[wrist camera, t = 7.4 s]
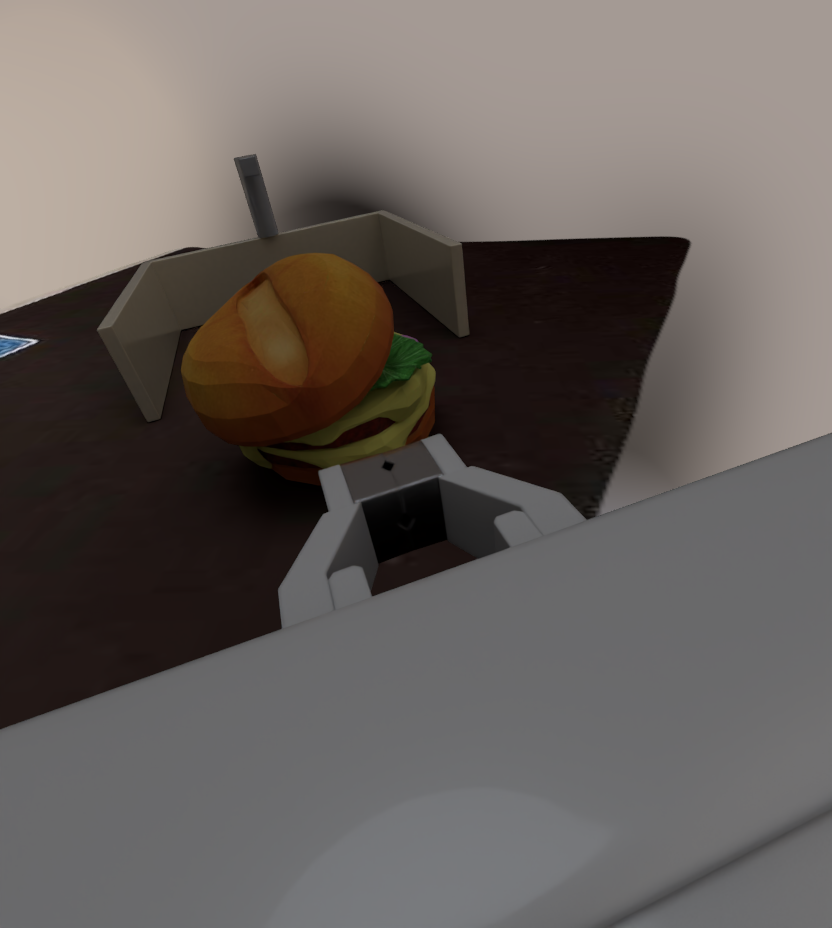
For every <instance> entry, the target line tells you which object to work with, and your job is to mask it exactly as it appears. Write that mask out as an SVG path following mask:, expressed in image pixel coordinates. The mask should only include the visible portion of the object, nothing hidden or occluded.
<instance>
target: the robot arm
mask: <svg viewBox="0 0 832 928" xmlns="http://www.w3.org/2000/svg"><path fill="white" fill-rule="evenodd" d="M340 466H341V467H340ZM318 474H319V478H320V482H321V485H322V489H323V493H324V496H325V500H326V503H327V507H328V511H329V512H327V513H324V514H323V515H322V516H321V518H320V520H319V521H318V523H317V525H316V527H315V528H314V530H313V532H312V533H311V535H310V537H309V538H308V540H307V542H306V543H305V545H304V547H303V548H302V550H301V552H300V553H299V555H298V557H297V558H296V560H295V562H294V563H293V565H292V567H291V569H290V570H289V572H288V574H287V575H286V577H285V579H284V580H283V582H282V584H281V585H280V587H279V589H278V594H279V604H280V613H281V623H282V629H281V630H278V631H275V632H272V633H269V634H267V635H264V636H261V637H258V638H255V639H252V640H250V641H247V642H244V643H241V644H238V645H236V646H233V647H230V648H227V649H224V650H222V651H219V652H216V653H213V654H210V655H208V656H205V657H202V658H199V659H196V660H194V661H191V662H188V663H185V664H182V665H180V666H177V667H174V668H171V669H168V670H166V671H163V672H160V673H157V674H154V675H152V676H149V677H146V678H143V679H140V680H138V681H135V682H132V683H129V684H126V685H124V686H121V687H118V688H115V689H112V690H110V691H107V692H104V693H101V694H98V695H96V696H93V697H90V698H87V699H84V700H82V701H79V702H76V703H73V704H70V705H68V706H65V707H62V708H59V709H56V710H54V711H51V712H48V713H45V714H42V715H40V716H37V717H34V718H31V719H28V720H26V721H23V722H20V723H17V724H14V725H12V726H9V727H6V728H3V729H0V928H832V433H830V434H827V435H824V436H821V437H818V438H816V439H813V440H810V441H807V442H804V443H802V444H799V445H796V446H793V447H790V448H788V449H785V450H782V451H779V452H776V453H774V454H771V455H768V456H765V457H763V458H760V459H757V460H754V461H751V462H749V463H746V464H743V465H740V466H737V467H735V468H732V469H729V470H726V471H723V472H720V473H718V474H715V475H712V476H709V477H706V478H704V479H701V480H698V481H695V482H692V483H690V484H687V485H684V486H681V487H678V488H676V489H673V490H670V491H667V492H664V493H662V494H659V495H656V496H653V497H650V498H647V499H645V500H642V501H639V502H636V503H634V504H631V505H628V506H625V507H622V508H619V509H617V510H614V511H611V512H608V513H605V514H603V515H600V516H597V517H594V518H592V519H589V520H586V519H585V518H584V517H583V516H582V515H581V514H580V513H579V512H578V511H577V510H576V508H575V507H574V506H573V505H572V504H571V503H570V502H569V501H568V500H567V499H566V498H565V497H564V496H563V495H562V494H561V493H558V492H555V491H552V490H549V489H546V488H542V487H539V486H536V485H533V484H529V483H526V482H523V481H520V480H516V479H513V478H510V477H507V476H503V475H500V474H497V473H494V472H490V471H487V470H484V469H481V468H477V467H474V466H471V467H468V468H467V467H466V466H465V464H464V463H463V462H462V460H461V459H460V458H459V456H458V455H457V454H456V452H455V451H454V450H453V448H452V447H451V446H450V444H449V443H448V442H447V440H446V439H445V438H444V436H443V435H442V434H437V435H434V436H431V437H428V438H425V439H422V440H420V441H417V442H414V443H411V444H408V445H405V446H402V447H399V448H396V449H393V450H389V451H386V452H383V453H378V454H374V455H371V456H367V457H364V458H360V459H357V460H353V461H350V462H346V463H343V464H340V465H335V466H332V467H329V468H326V469H323V470H319V471H318ZM445 540H448V541H449V542H450V543H452V544H454V545H455V546H457V547H459V548H461V549H462V550H464V551H466V552H468V553H469V554H471V555H473V556H475V557H476V558H478V559H477V560H474V561H471V562H468V563H466V564H463V565H460V566H457V567H454V568H452V569H449V570H446V571H443V572H440V573H437V574H435V575H432V576H429V577H426V578H423V579H421V580H418V581H415V582H412V583H409V584H407V585H404V586H401V587H398V588H395V589H393V590H390V591H387V592H384V593H381V594H379V595H376V596H373V597H372V595H371V589H372V586H373V582H374V579H375V576H376V573H377V569H378V566H379V565H378V563H381V562H384V561H386V560H389V559H392V558H394V557H397V556H400V555H402V554H405V553H408V552H410V551H413V550H416V549H419V548H423V547H426V546H429V545H432V544H435V543H438V542H442V541H445Z"/></svg>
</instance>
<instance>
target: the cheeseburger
mask: <svg viewBox="0 0 832 928" xmlns="http://www.w3.org/2000/svg"><path fill="white" fill-rule="evenodd" d="M430 357H432V354H431V353H429V352H428V351H427V350H425V349H424V348H423V344H422V343H419V342H418V341H417V339H415V338H412V337H409V336H407V335H401V334H398V333H395V332H394V326H393V310H392V308H391V305H390V303H389V301H388V299H387V297H386V295H385V293H384V291H383V289H382V287H381V286H380V285H379V284H378V283H377V282H376V281H375V280H374V279H373V278H372V277H371V276H370V275H369V273H367V272H365V271H364V270H362V269H361V268H359V267H358V266H356V265H355V264H353V263H351V262H349V261H347V260H345V259H343V258H341V257H339V256H336V255H334V254H326V253H306V254H298V255H293V256H289V257H286V258H284V259H281V260H279V261H277V262H275V263H274V264H272V265H271V266H269V267H268V268H266V269H264V270H263V271H261V272H260V273H259V274H258V275H257V276H256V277H255V278H254V279H253V280H252V281H251V282H249V283H248V284H246V285H245V286H243V287H242V288H241V289H240V290H239V291H238V292H237V293H236V294H235V295H234V296H233V297H232V298H230V299H229V300H228V301H227V302H226V303H225V304H224V305H223V306H222V307H221V308H220V309H219V310H218V311H217V312H216V313H215V314H214V315H213V316H212V317H211V318H210V319H209V320H208V321H207V322H206V323H205V324H204V325H203V326H202V327H201V328H200V329H199V330H198V332H197V333H196V334H195V336H194V337H193V338H192V340H191V341H190V343H189V345H188V347H187V350H186V352H185V354H184V356H183V361H182V367H181V373H182V378H183V382H184V387H185V392H186V396H187V398H188V400H189V401H190V403H191V405H192V406H193V408H194V410H195V411H196V413H197V415H198V416H199V418H200V419H201V421H202V423H203V424H204V426H205V427H206V429H208V430H209V431H210V432H212V433H213V434H215V435H216V436H218V437H219V438H221V439H222V440H224V441H226V442H227V443H230V444H234V445H239V447H240V449H241V450H242V452H243V454H244V456H246V457H247V458H248V459H250V460H251V461H253V462H255V463H256V464H258V465H259V466H262V467H265V468H271V469H272V470H274V471H275V472H277V473H278V474H279V475H281V476H282V477H284V478H285V479H286V480H291V481H297V482H302V483H308V484H313V485H318V486H319V485H321V482H320V478H319V474H318V471H319V470H323V469H326V468H329V467H332V466H335V465H340V464H343V463H346V462H350V461H353V460H357V459H360V458H364V457H367V456H371V455H374V454H378V453H383V452H386V451H389V450H393V449H396V448H399V447H402V446H405V445H408V444H411V443H414V442H417V441H420V440H422V439H425V438H427V437H428V435H429V433H430V431H431V429H432V427H433V425H434V423H435V401H434V383H435V373H436V372H435V369H434V368H433V367H432V366H431V365H430V364H429V363H430V362H432V360H431V358H430ZM340 467H341V466H340Z"/></svg>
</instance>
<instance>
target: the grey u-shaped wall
mask: <svg viewBox="0 0 832 928" xmlns="http://www.w3.org/2000/svg"><path fill="white" fill-rule="evenodd" d="M234 161H235V164H236V167H237V171H238V173H239V177H240V180H241V183H242V186H243V190H244V193H245V196H246V199H247V203H248V206H249V209H250V212H251V215H252V218H253V222H254V225H255V228H256V231H257V235H258V237H257V238H253V239H248V240H244V241H239V242H234V243H230V244H225V245H220V246H216V247H211V248H206V249H202V250H197V251H193V252H188V253H183V254H179V255H174V256H170V257H165V258H160V259H156V260H151V261H146V262H143V263H142V264H141V266H140V267H139V269H138V270H137V272H136V273H135V275H134V276H133V277H132V279H131V280H130V282H129V283H128V285H127V286H126V288H125V289H124V291H123V292H122V294H121V295H120V296H119V298H118V299H117V301H116V302H115V304H114V305H113V307H112V308H111V310H110V311H109V313H108V314H107V316H106V317H105V318H104V320H103V321H102V323H101V324H100V326H99V327H98V329H97V331H98V333H99V335H100V336H101V338H102V340H103V342H104V344H105V346H106V347H107V349H108V351H109V353H110V355H111V357H112V358H113V360H114V362H115V364H116V366H117V367H118V369H119V371H120V373H121V375H122V377H123V378H124V380H125V382H126V384H127V386H128V387H129V389H130V391H131V393H132V395H133V397H134V398H135V400H136V402H137V404H138V406H139V407H140V409H141V411H142V413H143V415H144V417H145V418H146V420H147V422H151V421H155V420H158V419H161V414H162V410H163V406H164V401H165V397H166V393H167V389H168V384H169V380H170V376H171V371H172V367H173V363H174V358H175V354H176V350H177V346H178V341H179V337H180V333H181V330H184V329H188V328H192V327H196V326H200V325H204V324H205V323H206V322H207V321H208V320H209V319H210V318H211V317H212V316H213V315H214V314H215V313H216V312H217V311H218V310H219V309H220V308H221V307H222V306H223V305H224V304H225V303H226V302H227V301H228V300H229V299H230V298H232V297H233V296H234V295H235V294H236V293H237V292H238V291H239V290H240V289H241V288H242V287H243V286H245V285H246V284H248V283H249V282H251V281H252V280H253V279H254V278H255V277H256V276H257V275H258V274H259V273H260V272H261V271H263V270H264V269H266V268H268V267H269V266H271V265H272V264H274V263H275V262H277V261H279V260H281V259H284V258H286V257H289V256H293V255H298V254H306V253H326V254H334V255H336V256H339V257H341V258H343V259H345V260H347V261H349V262H351V263H353V264H355V265H356V266H358V267H359V268H361V269H362V270H364V271H365V272H367V273H369V275H370V276H371V277H372V278H373V279H374V280H375V281H376V282H381V281H385V280H391V281H392V282H393V283H394V284H395V285H397V286H398V287H399V288H400V289H401V290H403V291H404V292H405V293H406V294H407V295H409V296H410V297H411V298H412V299H414V300H415V301H416V302H417V303H418V304H420V305H421V306H422V307H423V308H424V309H426V310H427V311H428V312H429V313H430V314H432V315H433V316H434V317H435V318H436V319H438V320H439V321H440V322H441V323H442V324H444V325H445V326H446V327H447V328H448V329H450V330H451V331H452V332H453V333H454V334H456V335H457V336H458V337H463V336H467V335H469V325H468V313H467V301H466V289H465V278H464V266H463V254H462V244H461V243H459V242H457V241H454V240H452V239H450V238H447V237H445V236H443V235H440V234H438V233H436V232H433V231H431V230H429V229H426V228H424V227H422V226H419V225H417V224H415V223H412V222H410V221H408V220H405V219H402V218H400V217H398V216H396V215H393V214H391V213H389V212H386V211H384V210H382V211H377V212H373V213H369V214H363V215H359V216H354V217H350V218H345V219H340V220H336V221H331V222H327V223H322V224H317V225H313V226H308V227H303V228H299V229H294V230H290V231H285V232H281V233H278V229H277V226H276V222H275V219H274V216H273V212H272V209H271V205H270V202H269V198H268V195H267V191H266V188H265V185H264V181H263V177H262V174H261V170H260V167H259V164H258V160H257V156H256V154H254V155H248V156H242V157H237V158H234Z"/></svg>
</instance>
